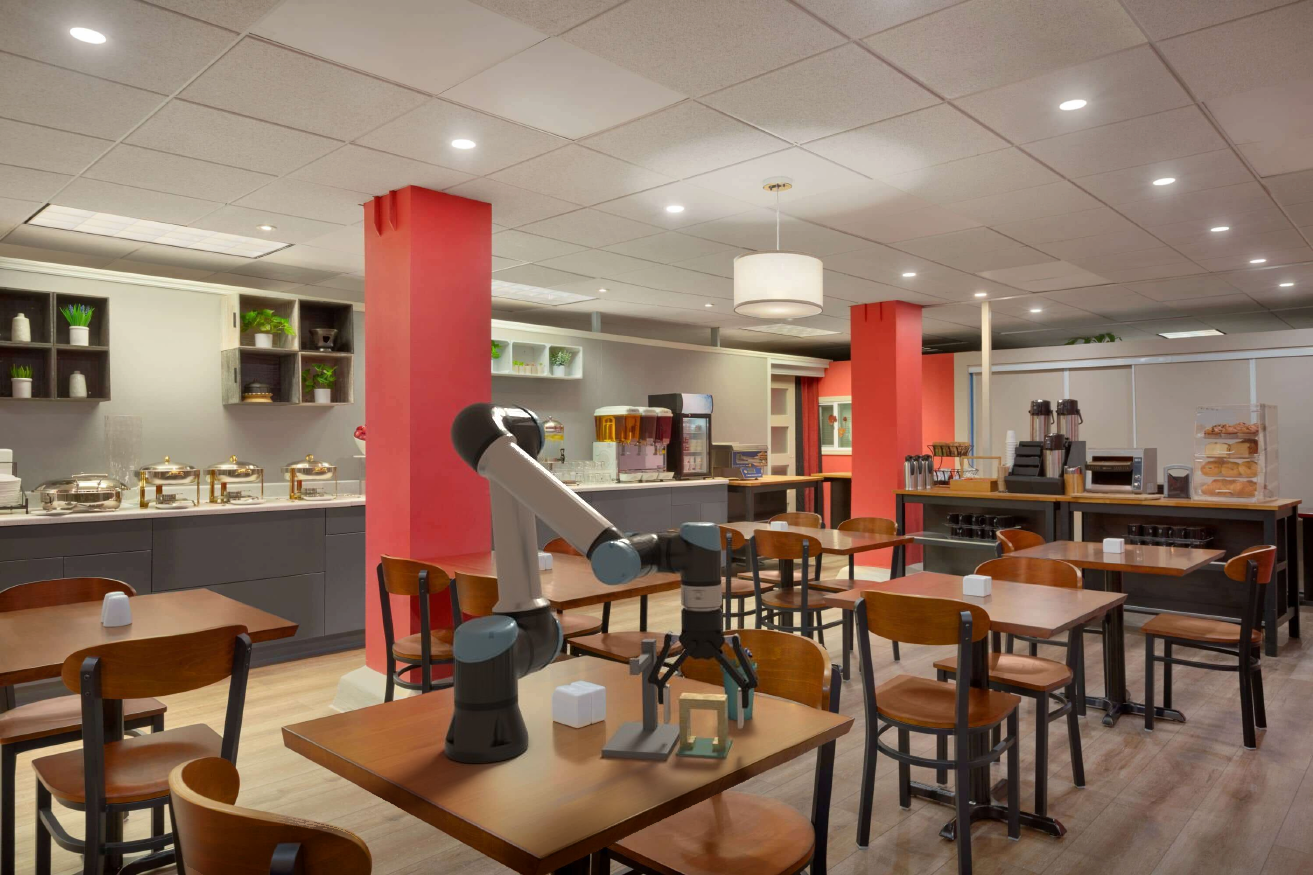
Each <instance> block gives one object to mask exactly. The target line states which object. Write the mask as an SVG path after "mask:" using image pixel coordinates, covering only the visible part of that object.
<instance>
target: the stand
mask: <svg viewBox="0 0 1313 875" xmlns="http://www.w3.org/2000/svg"><path fill="white" fill-rule="evenodd" d="M640 642H641V649H640V650H641V654H640V655H639V656H638V657H637V658H635V657H630V658H629V660H628V661H629V663H628V664H629V675H630V676H639V675H641V686H642V687H641V688H642V690H641V691H642V693H641V695H642V696H641V698H642V702H641V703H642V721H641V722H639V721H623V723H621V725H620V726H619V727H618V729H617V730H616V731H615V732H614V734H613V735H612V736H611V737H610V738H609V739H608V740H607V742H606V743H605V745H603V747H602V748H601V751H600V752H601V757H607V758H621V759H622V758H624V759H641V760H653V761H656V760H657V761H668V760H669V758H670V756H671V755H672V753H673V751H674V750H675V748H676V746H677V744H678V742H680V730H679V724H678V723H676V724H675V723H668V724H664V723H662V722H661V723H659V721H658V720H659V717H658V716H659V715H658V713H659V712H658V710H659V709H658V687H657V686H656V685H655V684H650V683H649V682H648V677H649V675H650V673H651V671H652V669H653V667H654V665H655V663H656V661H657V659H658V656H657V638H644V639H642V640H641V641H640Z"/></svg>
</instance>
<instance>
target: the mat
mask: <svg viewBox="0 0 1313 875" xmlns="http://www.w3.org/2000/svg"><path fill="white" fill-rule="evenodd" d="M714 739H715V737H714V738H712V737H697V736H696V744H695V746H694V748H693V749H682V748H680V745H679V747H678V749H677V750H676V752H675V756H676V757H694V758H709V759H727V756H728V753H729V751H730V749H731V745H732V743H733V739H732V738H730V739H729V738H728V747H727V749H726V751H717V750H713V746H712V743H713V741H714Z"/></svg>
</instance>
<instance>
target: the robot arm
mask: <svg viewBox="0 0 1313 875" xmlns="http://www.w3.org/2000/svg"><path fill="white" fill-rule="evenodd" d="M450 441H451V444H452V446H453V449H454V450H455V452H456V454H457V455H458V456H459V458H460V459H461V460H462V461H463V462H465V463H466V464H467V465H468V467H470V468H471V469H472V470H473V471H474V472H476V473H477V474H478V475H479V476H481V477H482V478H486V480H487V481H488V484H489V485H488V486H489V495H490V496H489V498H490V511H491V518H492V520H491V522H492V532H493V542H494V543H493V545H494V554H495V555H494V556H495V567H496V570H495V571H496V579H497V590H498V591H497V593H498V600H497V602H496V604H495V605H494V606H493V607H492V609H491V612H492V613H491V614H492V615H485V616H482V617H476V618H472V619H470V620H468V621H465V622H463V623H462V624H460V625H459V626H458V627H456V629H455V631H454V634H453V643H452V644H453V645H452V655H453V701H454V702H453V705H454V706H453V707H454V708H453V712H452V716H451V719H450V722H449V725H448V729H447V732H446V736H445V739H444V756H446V757H447V758H448V759H450V760H452V761H455V762H459V763H467V764H486V763H488V764H489V763H495V762H500V761H501V762H502V761H505V760H508V759H512V758H515V757H517V756H520V755H521V754H523V753H525V752H526V751H528V750H527V749H528V748H529V734H528V728H527V726H526V723H525V721H524V717H523V714H522V711H521V709H520V706H519V680H520V679H522V678H524V677H527V676H529V675H530V674H534V673H537V672H539V671H542V670H543V669H545V668H546V667H547V666H548V665H550V664H551V663H553V661H555V659H556V658H557V657H558V656H559V655H560V652H561V649H562V646H563V642H564V632H563V627H562V625H561V622H560V621H559V619H558V618H556V616H555V614H554V613H552V608H551V607H552V606H551V601H550V600H548V598H546V597H545V596H543V594H542V593H543V592H542V582H541V581H542V580H541V570H540V569H541V568H540V557H539V547H538V537H537V524H536V517H537V518H539V519H540V520H541V521H542V522H543V523H544V524H546V525H547V526H548V527H549V528H550V529H551V530H553V531H554V533H556V534H557V535H558V536H560V537H561V538H562V539H563V540H564V541H565V542H567V543H568V544H569V545H570V546H572V547H573V548H574V549H575V550H576V551H577V552H578V553H580V554H581V555H582V556H583V557H584V558H585V559H586V560H588V561H589V562H590V567H591V570H592V572H593V575H594V577H595V578H596V579H597V580H598V581H599V582H600V583H602V584H604V585H608V586H619V585H626V584H628V583H631V582H633V581H634V580H636V579H640V578H643V577H646V576H649V575H652V574H672V575H678V574H679V575H680V604H681V606H682V607H683V608H682V609H681V612H680V614H681V616H680V618H681V619H680V620H681V621H680V622H681V624H680V625H681V632H680V634H679V633H674V632H673V631H671V630H669V631H667V632H666V633H665V635H664V638H663V646H662V648H661V650H660V653H659V655H658V656H657V661H656V663H655V665H654V667H653V669H652V671H651V673H650V675H649V677H648V682H649V683H650V684H655V685H656V686H657V704H658V705H663V706H662V707H663V724H670V722H671V720H672V719H671V718H672V715H671V714H672V713H671V709H672V708H671V705H672V704H671V684H668V683H667V682H668V681H669V680H670V679H671V677H672V676H673V675H674V674H675V673H676V672H677V670H678V669H679V668H680V666H682V664H683V663H684V662H685V661H686V660H687V658H688V657H690V658H691V659H693V660H701V659H703V660H705V661H706V660H707V661H710V660H712V659H713V658H714V660H715V661H717V663H719V665H720V666H721V665H722V667H723V668H724V669H725V670H726V671H727V673H728V674H729V675H730V676H731V677H732V679H733V680H734V681H735V682H736V683H737V685H738V686H739V687H740V688H739V689H738V691H737V708H738V720H737V729H743V728H744V723H745V720H744V709H743V708H745V709H747V708H748V706H749V690H750V689H752V688H754V689H756V688H758V686H759V683H760V680H759V677H758V676H757V674H756V672H754V670H753V668H752V666H751V664H750V662H749V661H750V660H749V657H748V656H747V654H745V652H744V648H743V646H742V642H741V635H740V634H739V633H738V632H736V633H734V634H733V635H725V634H724V631H723V630H724V629H723V610H722V608H721V606H722V605H723V588H722V587H723V583H722V549H723V548H722V543H721V542H722V541H721V540H722V539H721V529H720V527H719V525H718V524H717V523H714V522H710V521H709V522H708V521H702V522H701V521H699V522H697V521H696V522H693V521H691V522H683V523H682V524H680V526H679V531H678V532H676V533H665V532H663V533H662V532H644V531H635V532H625V533H623V531H621V530H620V529H619V528H618V527H616V526H615V525H614V524H613V523H612V522H610V521H609V520H608V519H607V518H605V517H604V516H603V515H602V514H601V513H600V512H598V511H597V510H596V509H595V508H594V507H593V506H592V505H590V504H588V502H586V501H585V500H584V499H582V498H581V497H580V496H579V495H578V494H577V493H575V492H574V491H573V490H572V489H570V487H568V485H567V486H566V484H564V483H563V482H562V481H561V480H559V479H558V478H557V477H556V476H555V475H554V474H553V473H551V472H550V471H549V470H547V469H546V468H545V467H543V466H542V465H541V463H539V460H538V457H539V455H540V454H541V452H542V450H543V449H544V447H545V444H546V431H545V428H544V425H543V422H542V421H541V419H540V418H539V416H537V414H535V412H533V411H532V410H530V409H528V408H526V407H523V406H519V405H516V404H504V403H503V404H501V403H491V402H482V401H481V402H474V403H471V404H469V405H467V406H465V407H463V408H462V409H461V410H460V411H458V413H457V414H456V415H455V417H454V419H453V421H452V424H451V428H450ZM677 642H679V643H680V644H681V646H682V647H683V649H684V650H683V651H682V652H681V654H680V655H679V656H678V657H677V658H676V660H675V661H674V662H673V663H672V664H671V666H670V667H669V668H668V669H667V670H666V672H665V673H664V674H663V675H662V676H659V674H660V671H661V669H662V667H663V666H664V664H665V661H666V659H667V658H668V655H669V653H670V651H671V649H672V647H673V646H675V645H676V644H677ZM725 643H727V644H728V646H729V647H730V648H731V649H732V650H733V652H734V656H735V655H736V657H737V658H738V660H739V662H740V664H741V666H742V668H743V670H744V672H745V674H746V676H747V678H748V680H749V681H747V680H746V679H745V678H744V676H743V675H742V674H741V673H740V672H739V670H738V669H737V668H736V667H735V666H734V664H733V663H732V662H731V661H730V660H731V659H730V658H729V657H728V656H727V654H726V652H725V651H724V650H723V649H722V647H723V645H725Z"/></svg>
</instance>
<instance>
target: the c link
mask: <svg viewBox="0 0 1313 875" xmlns="http://www.w3.org/2000/svg"><path fill="white" fill-rule="evenodd" d="M691 710H702V711H703V710H704V711H705V710H706V711H716V712H717V714H716V715H717V736H715V737H714V738H715V739H714V741H713V743H712V746H713V750H717V751H726V749H727V747H728V739H729V718H728V696H727V695H725V694H714V693H698V692H697V693H695V692H694V693H691V692H682V693H681V695H680V696H679V698H678V716H679V717H678V718H679V720H678V721H679V730H680V739H679V746H680V748H682V749H693V748H694V746H695V744H696V737H697V735H692V734H691V733H692V732H691V731H692V726H691V725H692V724H691V721H692V720H691Z"/></svg>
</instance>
